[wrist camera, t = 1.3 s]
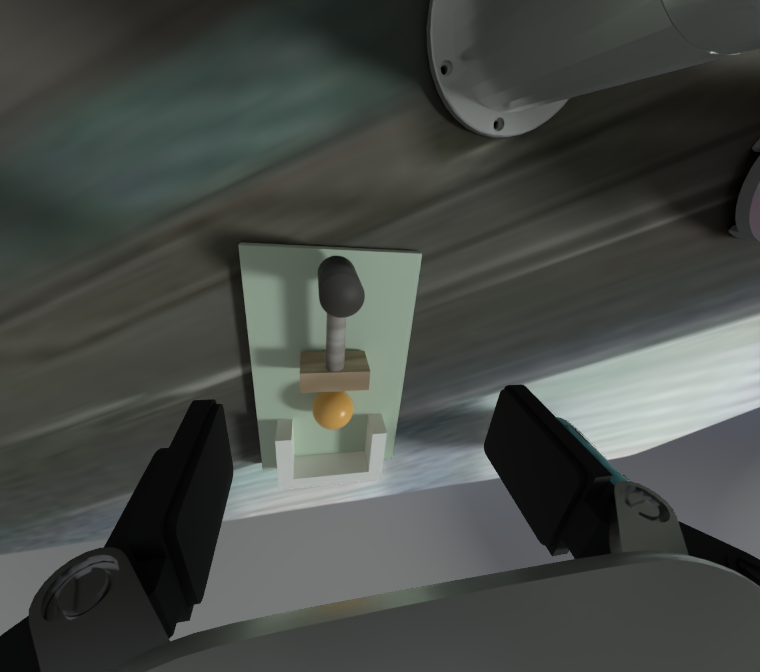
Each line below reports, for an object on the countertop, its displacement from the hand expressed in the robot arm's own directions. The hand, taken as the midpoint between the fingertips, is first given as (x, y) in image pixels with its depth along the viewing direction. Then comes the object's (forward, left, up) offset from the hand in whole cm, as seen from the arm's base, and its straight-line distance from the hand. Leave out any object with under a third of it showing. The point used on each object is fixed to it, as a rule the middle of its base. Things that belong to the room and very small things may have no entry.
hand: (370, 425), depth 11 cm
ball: (+13, 0, -17) cm, 22 cm away
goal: (+20, 0, -19) cm, 27 cm away
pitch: (+11, 0, -20) cm, 23 cm away
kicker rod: (+4, 0, -19) cm, 19 cm away
